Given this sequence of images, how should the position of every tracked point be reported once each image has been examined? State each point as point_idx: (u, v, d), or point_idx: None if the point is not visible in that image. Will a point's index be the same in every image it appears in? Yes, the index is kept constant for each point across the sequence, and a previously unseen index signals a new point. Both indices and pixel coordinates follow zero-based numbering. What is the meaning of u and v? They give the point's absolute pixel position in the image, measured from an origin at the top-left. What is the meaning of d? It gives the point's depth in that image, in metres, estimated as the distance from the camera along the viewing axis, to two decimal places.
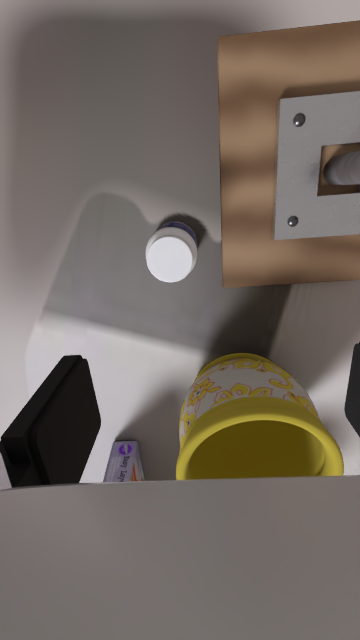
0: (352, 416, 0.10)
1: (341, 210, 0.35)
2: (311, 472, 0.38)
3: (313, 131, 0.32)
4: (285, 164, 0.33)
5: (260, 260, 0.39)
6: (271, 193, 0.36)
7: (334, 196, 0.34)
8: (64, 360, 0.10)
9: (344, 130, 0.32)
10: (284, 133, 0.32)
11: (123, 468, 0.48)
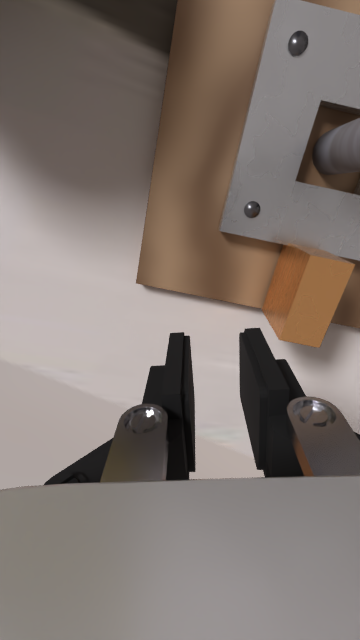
0: (242, 397, 0.12)
1: (281, 143, 0.21)
2: None
3: None
4: None
5: None
6: None
7: (308, 132, 0.21)
8: (173, 336, 0.11)
9: None
10: None
11: None
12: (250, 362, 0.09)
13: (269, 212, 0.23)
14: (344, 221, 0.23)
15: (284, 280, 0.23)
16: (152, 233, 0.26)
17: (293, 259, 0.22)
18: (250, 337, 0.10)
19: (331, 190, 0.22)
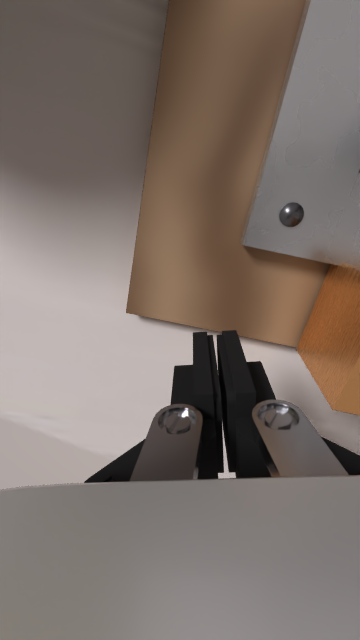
0: None
1: (342, 114, 0.14)
2: None
3: None
4: None
5: None
6: None
7: None
8: (197, 336, 0.11)
9: None
10: None
11: None
12: (222, 364, 0.09)
13: (316, 218, 0.16)
14: None
15: (336, 318, 0.16)
16: (147, 246, 0.18)
17: (354, 289, 0.15)
18: (225, 339, 0.10)
19: None
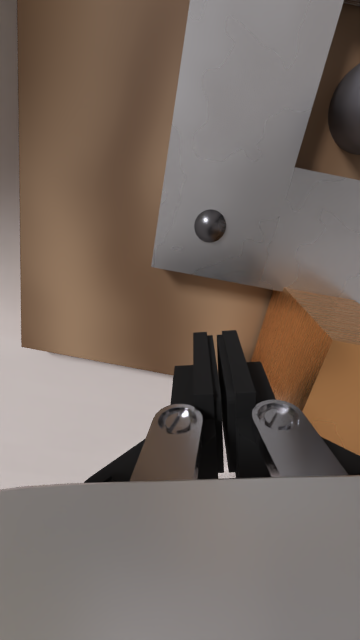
0: None
1: (264, 84, 0.10)
2: None
3: None
4: None
5: None
6: None
7: (321, 58, 0.10)
8: (197, 336, 0.11)
9: None
10: None
11: None
12: (222, 365, 0.09)
13: (244, 230, 0.12)
14: None
15: (275, 363, 0.12)
16: (36, 264, 0.14)
17: (293, 327, 0.11)
18: (225, 339, 0.10)
19: None
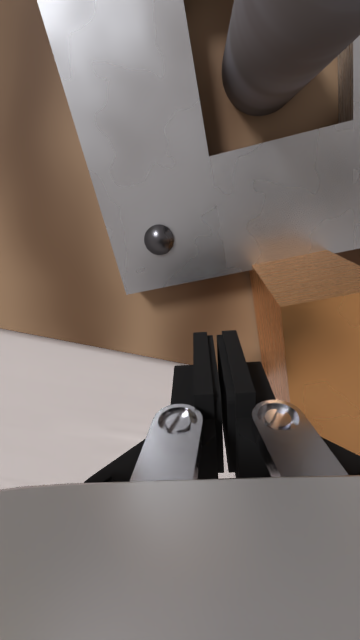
0: None
1: (148, 101, 0.11)
2: None
3: None
4: None
5: None
6: None
7: (187, 53, 0.10)
8: (197, 336, 0.11)
9: None
10: None
11: None
12: (222, 365, 0.09)
13: (190, 230, 0.12)
14: (341, 183, 0.11)
15: (267, 340, 0.12)
16: None
17: (264, 302, 0.11)
18: (225, 339, 0.10)
19: (287, 139, 0.11)
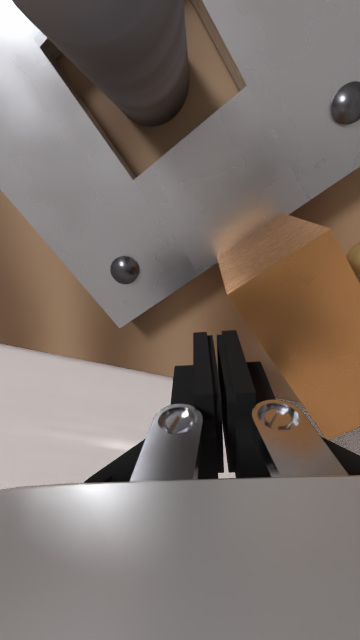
0: None
1: (62, 159, 0.12)
2: None
3: None
4: None
5: None
6: None
7: (75, 105, 0.11)
8: (197, 336, 0.11)
9: None
10: None
11: None
12: (222, 365, 0.09)
13: (148, 250, 0.13)
14: (264, 146, 0.11)
15: None
16: None
17: None
18: (225, 339, 0.10)
19: (194, 132, 0.11)
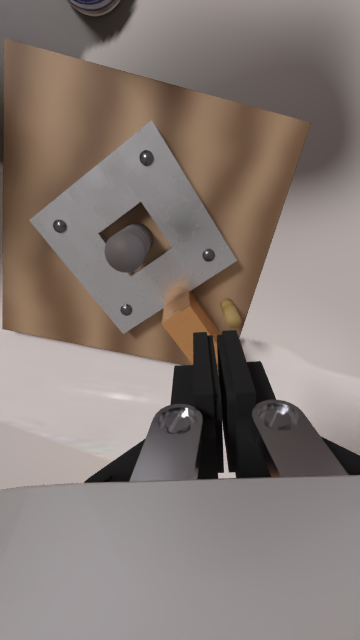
0: None
1: (103, 268, 0.30)
2: None
3: (146, 181, 0.27)
4: (101, 174, 0.27)
5: (43, 117, 0.27)
6: None
7: None
8: (197, 336, 0.11)
9: (165, 215, 0.28)
10: (126, 150, 0.26)
11: None
12: (222, 365, 0.09)
13: (136, 302, 0.31)
14: (180, 267, 0.30)
15: None
16: (10, 292, 0.33)
17: None
18: (225, 339, 0.10)
19: (154, 261, 0.30)
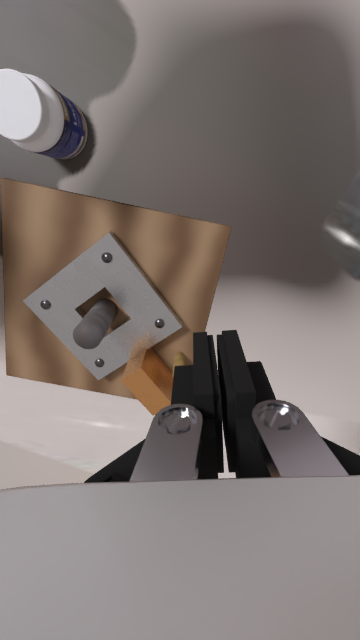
0: None
1: None
2: None
3: (108, 273, 0.36)
4: (74, 269, 0.36)
5: (30, 228, 0.36)
6: None
7: None
8: (197, 336, 0.11)
9: (124, 295, 0.37)
10: (91, 252, 0.35)
11: None
12: (222, 365, 0.09)
13: (106, 357, 0.40)
14: (138, 332, 0.39)
15: None
16: (11, 348, 0.42)
17: None
18: (225, 339, 0.10)
19: (118, 328, 0.39)
